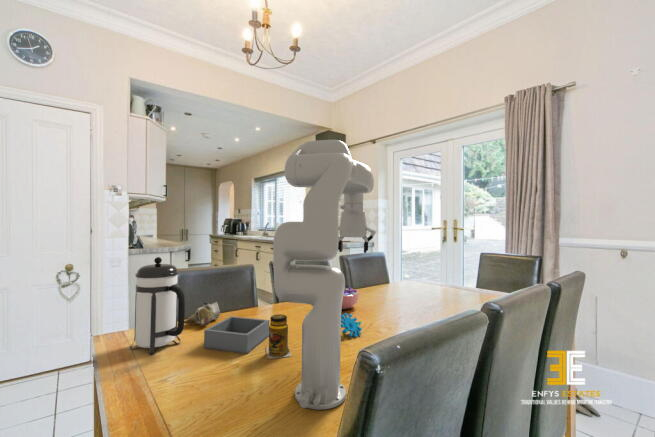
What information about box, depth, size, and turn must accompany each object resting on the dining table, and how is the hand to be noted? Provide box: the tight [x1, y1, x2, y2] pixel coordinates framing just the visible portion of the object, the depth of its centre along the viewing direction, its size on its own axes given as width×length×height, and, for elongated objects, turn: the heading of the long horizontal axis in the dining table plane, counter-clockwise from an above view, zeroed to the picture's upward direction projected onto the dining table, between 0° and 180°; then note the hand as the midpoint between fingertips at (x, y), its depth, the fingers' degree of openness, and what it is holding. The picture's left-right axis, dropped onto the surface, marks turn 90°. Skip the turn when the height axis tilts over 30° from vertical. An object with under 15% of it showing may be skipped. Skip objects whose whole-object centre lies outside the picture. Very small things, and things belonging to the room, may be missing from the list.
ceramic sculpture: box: [184, 301, 221, 327], centre depth 127 cm, size 11×9×15 cm
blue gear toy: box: [341, 312, 363, 338], centre depth 117 cm, size 11×6×10 cm
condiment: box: [265, 313, 292, 360], centre depth 99 cm, size 7×8×12 cm
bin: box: [203, 315, 270, 355], centre depth 107 cm, size 16×16×6 cm
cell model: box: [341, 286, 360, 310], centre depth 153 cm, size 17×20×11 cm
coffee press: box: [129, 256, 186, 356], centre depth 102 cm, size 17×16×30 cm
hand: (352, 252), depth 119 cm, fingers open, 9 cm apart
